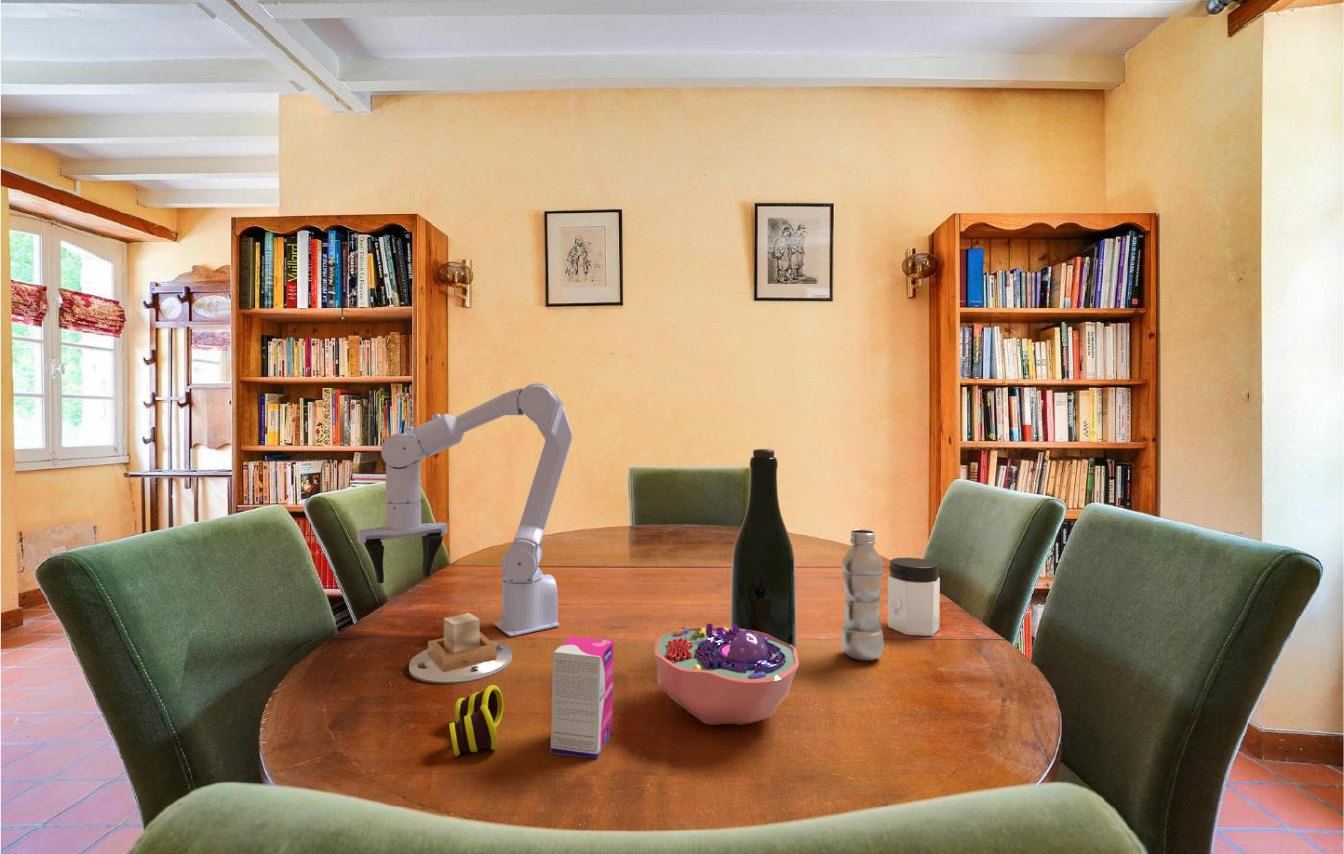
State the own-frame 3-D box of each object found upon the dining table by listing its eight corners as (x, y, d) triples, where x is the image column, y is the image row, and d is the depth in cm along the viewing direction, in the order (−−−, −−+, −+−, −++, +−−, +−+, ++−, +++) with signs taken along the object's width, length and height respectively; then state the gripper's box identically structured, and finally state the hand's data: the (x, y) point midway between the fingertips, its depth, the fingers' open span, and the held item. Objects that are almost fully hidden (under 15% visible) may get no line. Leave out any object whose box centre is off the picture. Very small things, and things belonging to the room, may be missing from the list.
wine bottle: (745, 638, 105) (746, 447, 104) (805, 650, 99) (805, 448, 99) (719, 659, 96) (719, 449, 95) (783, 673, 90) (783, 451, 90)
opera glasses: (464, 726, 76) (455, 688, 76) (506, 714, 77) (498, 676, 77) (452, 770, 67) (442, 726, 67) (500, 755, 68) (491, 713, 68)
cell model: (709, 671, 91) (709, 596, 91) (827, 718, 77) (827, 628, 77) (622, 708, 79) (622, 622, 79) (742, 772, 65) (742, 666, 65)
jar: (878, 623, 113) (878, 559, 113) (911, 618, 116) (912, 555, 116) (914, 639, 104) (915, 569, 104) (950, 633, 108) (950, 565, 107)
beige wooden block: (468, 650, 97) (468, 612, 97) (479, 657, 94) (479, 619, 94) (443, 656, 94) (443, 618, 94) (453, 664, 91) (453, 624, 91)
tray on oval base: (492, 638, 104) (492, 621, 104) (527, 666, 92) (527, 647, 92) (398, 658, 96) (398, 639, 96) (423, 692, 83) (423, 671, 83)
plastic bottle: (885, 653, 98) (886, 529, 98) (881, 668, 92) (881, 536, 92) (844, 646, 101) (845, 526, 101) (837, 661, 95) (838, 533, 95)
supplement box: (599, 759, 67) (599, 656, 67) (549, 753, 68) (549, 652, 68) (614, 733, 73) (615, 638, 73) (568, 728, 74) (568, 634, 74)
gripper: (439, 496, 115) (439, 568, 115) (354, 502, 106) (354, 580, 107) (450, 500, 109) (450, 576, 109) (361, 507, 101) (361, 589, 101)
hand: (403, 578), depth 108 cm, fingers open, 7 cm apart
